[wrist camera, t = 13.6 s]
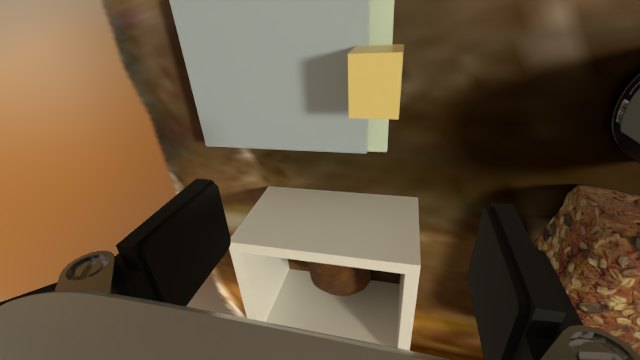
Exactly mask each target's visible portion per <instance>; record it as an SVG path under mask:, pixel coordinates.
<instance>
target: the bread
mask: <svg viewBox="0 0 640 360" xmlns="http://www.w3.org/2000/svg"><path fill="white" fill-rule="evenodd" d="M534 248H535V249H538V250H542V251H544V252H545V253H546V255H547V256H548V258H549V260H550V262H551V264H552V266H553V268H554V270H555V272H556V273H557V275H558V277H559V279H560V281H561V283H562V285H563V287H564V289H565V291H566V293H567V294H568V296H569V298H570V300H571V302H572V304H573V306H574V308H575V310H576V312H577V313H578V315H579V317H580V319H581V321H582V323H583V325H584V326H591V327H594V328H598V329H601V330H604V331H606V332H608V333H610V334H612V335H614V336H616V337H617V338H619V339H620V340H622V341H623V342H625V343H626V344H628V345H629V346H630V347H631V348H632V349H633V350H634V351H636V352H637V353H638V354H639V355H640V196H638V195H634V194H628V193H623V192H618V191H616V190H610V189H605V188H600V187H595V186H588V185H579V186H577V187H575V188H574V189H573V190H572V191H570V192H569V193H567V195H566V198H565V201H564V204H563V206H562V207H561V208H560V210H559V211H558V212H557V214H556V215H555V217H553V218H552V219H551V220H550V222H549V223H548V225H547V226H546V228H545V229H544V230H543V233H542V234H541V235H540V237H539V239H538V240H537V241H536V242H535V245H534Z"/></svg>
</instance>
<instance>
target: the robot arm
mask: <svg viewBox="0 0 640 360" xmlns="http://www.w3.org/2000/svg"><path fill="white" fill-rule="evenodd" d="M230 244H231V238H230V234H229V230H228V226H227V222H226V217H225V213H224V209H223V205H222V201H221V197H220V193H219V188H218V186H217V185H216V184H215V183H214V182H213V181H212V180H207V179H196V180H194V181H193V182H192V183H191V184H189V185H188V186H187V187H186V188H185V189H183V190H182V191H181V192H180V193H178V194H177V195H176V196H175V197H174V198H173V199H171V200H170V201H169V202H168V203H166V204H165V205H164V206H163V207H162V208H160V209H159V210H158V211H157V212H156V213H154V214H153V215H152V216H151V217H150V218H148V219H147V220H146V221H145V222H143V223H142V224H141V225H140V226H139V227H137V228H136V229H135V230H134V231H133V232H131V233H130V234H129V235H128V236H127V237H125V238H124V239H123V240H122V241H121V242H119V243H118V244H117V245H116V247H117V249H118V251H119V254H118V255H116V256H114V254H113V253H111V252H109V251H96V252H92V253H89V254H86V255H83V256H81V257H79V258H77V259H75V260H74V261H73V262H71V263H70V264H68V265H67V266H66V267H65V268H64V269H63V271H62V272H61V274H60V276H59V280H58V282H57V283H54V284H51V285H48V286H45V287H43V288H40V289H37V290H34V291H31V292H28V293H26V294H23V295H20V296H18V297H14V298H11V299H8V300H6V301H3V302H0V360H451V359H446V358H442V357H437V356H433V355H428V354H423V353H419V352H414V351H409V350H405V349H400V348H395V347H390V346H385V345H380V344H375V343H370V342H365V341H360V340H355V339H350V338H345V337H340V336H335V335H330V334H325V333H320V332H315V331H310V330H305V329H300V328H295V327H290V326H284V325H279V324H274V323H269V322H264V321H259V320H254V319H248V318H243V317H238V316H233V315H228V314H222V313H217V312H211V311H206V310H201V309H196V308H190V307H186V305H187V304H188V303H189V301H190V300H191V299H192V298H193V296H194V295H195V293H196V292H197V291H198V289H199V288H200V287H201V285H202V284H203V283H204V281H205V280H206V279H207V277H208V276H209V275H210V273H211V272H212V270H213V269H214V268H215V266H216V265H217V264H218V262H219V261H220V260H221V258H222V257H223V256H224V254H225V253H226V252H227V250H228V249H229V247H230ZM468 280H469V286H470V291H471V296H472V301H473V306H474V311H475V316H476V321H477V326H478V331H479V336H480V341H481V346H482V351H483V356H484V360H640V355H639V354H638V353H637V352H636V351H634V350H633V349H632V348H631V347H630V346H629V345H628V344H626V343H625V342H623V341H622V340H620V339H619V338H617V337H616V336H614V335H612V334H610V333H608V332H606V331H604V330H601V329H598V328H594V327H591V326H584V325H583V323H582V321H581V319H580V317H579V315H578V313H577V312H576V310H575V308H574V306H573V304H572V302H571V300H570V298H569V296H568V294H567V293H566V291H565V289H564V287H563V285H562V283H561V281H560V279H559V277H558V275H557V273H556V272H555V270H554V268H553V266H552V264H551V262H550V260H549V258H548V256H547V255H546V253H545V252H544V251H542V250H538V249H535V248H534V246H533V244H532V242H531V240H530V238H529V236H528V234H527V232H526V229H525V227H524V225H523V223H522V221H521V219H520V217H519V215H518V213H517V211H516V209H515V207H514V205H512V204H503V203H491V205H490V207H484V208H483V211H482V215H481V219H480V224H479V228H478V232H477V237H476V241H475V245H474V250H473V254H472V258H471V263H470V267H469V273H468Z"/></svg>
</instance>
